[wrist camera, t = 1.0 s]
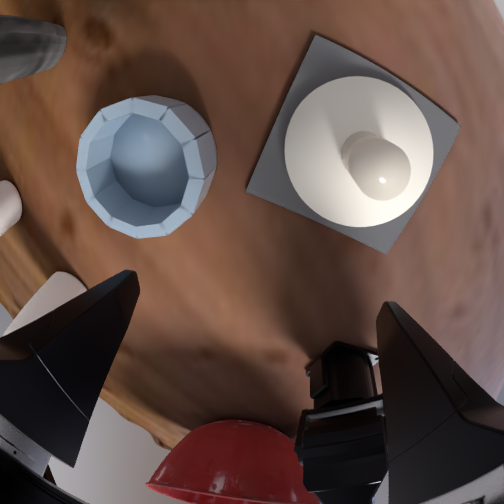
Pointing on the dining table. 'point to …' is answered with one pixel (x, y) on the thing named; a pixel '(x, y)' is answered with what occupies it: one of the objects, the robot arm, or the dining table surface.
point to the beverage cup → (28, 46)
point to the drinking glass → (9, 206)
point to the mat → (307, 79)
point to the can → (48, 298)
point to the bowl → (146, 164)
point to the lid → (358, 151)
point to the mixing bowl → (233, 467)
